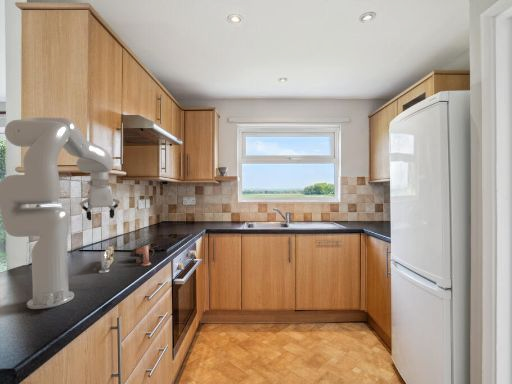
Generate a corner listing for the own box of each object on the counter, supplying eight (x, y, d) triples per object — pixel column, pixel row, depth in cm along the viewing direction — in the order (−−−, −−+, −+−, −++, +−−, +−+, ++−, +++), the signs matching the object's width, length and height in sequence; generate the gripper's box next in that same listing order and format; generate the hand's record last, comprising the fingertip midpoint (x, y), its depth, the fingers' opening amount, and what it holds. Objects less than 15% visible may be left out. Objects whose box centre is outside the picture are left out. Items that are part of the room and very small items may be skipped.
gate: (106, 269, 125) (106, 253, 125) (103, 270, 125) (102, 253, 125) (114, 260, 142) (113, 245, 142) (110, 260, 142) (110, 245, 142)
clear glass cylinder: (111, 271, 123) (110, 251, 123) (100, 273, 120) (99, 253, 120) (108, 269, 127) (107, 250, 127) (97, 271, 124) (97, 251, 123)
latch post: (152, 264, 134) (152, 246, 134) (143, 266, 131) (142, 247, 131) (148, 262, 137) (148, 245, 137) (139, 264, 134) (139, 246, 134)
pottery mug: (130, 265, 135) (126, 250, 138) (134, 269, 143) (131, 254, 146) (155, 257, 139) (151, 242, 141) (158, 260, 147) (154, 246, 150)
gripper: (81, 183, 123) (82, 221, 123) (121, 183, 135) (122, 217, 136) (77, 183, 128) (78, 220, 129) (116, 183, 140) (117, 216, 141)
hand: (100, 218), depth 132 cm, fingers open, 9 cm apart
